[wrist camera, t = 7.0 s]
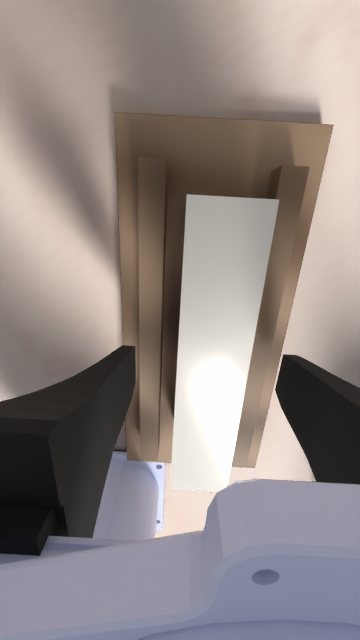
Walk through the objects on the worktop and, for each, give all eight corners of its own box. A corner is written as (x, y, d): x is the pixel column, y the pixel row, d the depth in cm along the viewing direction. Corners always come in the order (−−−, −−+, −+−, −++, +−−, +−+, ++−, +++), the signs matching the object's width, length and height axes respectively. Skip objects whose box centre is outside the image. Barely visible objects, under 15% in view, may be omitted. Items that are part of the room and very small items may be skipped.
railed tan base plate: (251, 456, 20) (260, 487, 18) (129, 449, 20) (122, 479, 18) (322, 132, 12) (354, 110, 10) (120, 120, 12) (105, 96, 10)
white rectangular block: (215, 422, 18) (226, 492, 13) (174, 419, 18) (169, 489, 13) (244, 208, 13) (279, 199, 8) (186, 205, 13) (186, 194, 8)
